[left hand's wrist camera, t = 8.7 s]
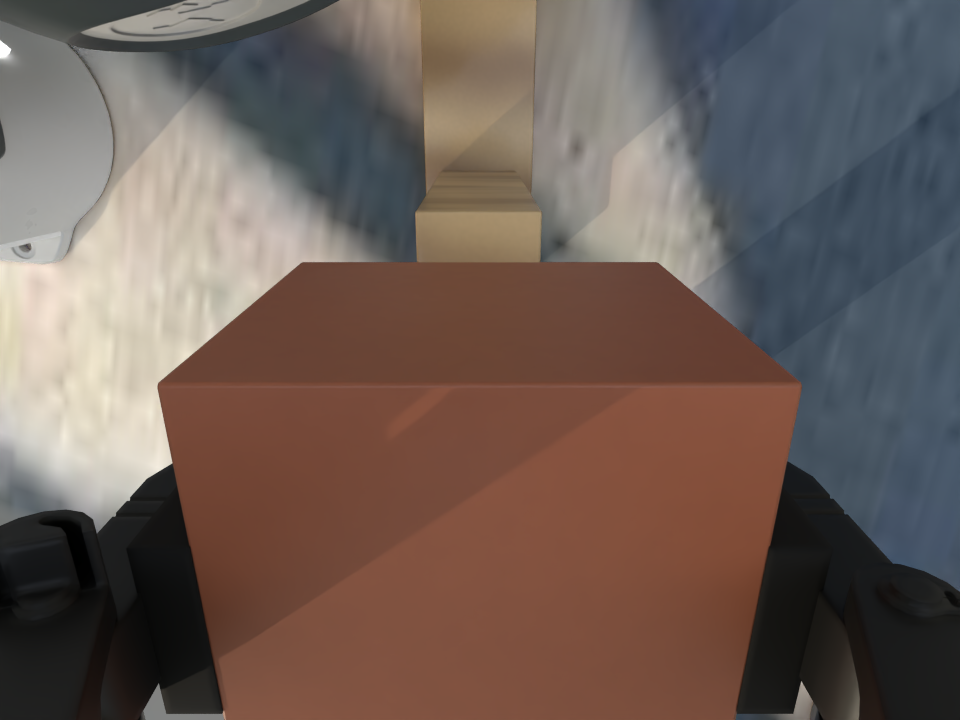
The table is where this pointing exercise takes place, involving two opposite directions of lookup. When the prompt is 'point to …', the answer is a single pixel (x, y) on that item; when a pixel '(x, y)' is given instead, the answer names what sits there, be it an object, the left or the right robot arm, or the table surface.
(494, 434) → the terracotta cube
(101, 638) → the left robot arm
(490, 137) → the stand
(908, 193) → the table surface
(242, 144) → the table surface
